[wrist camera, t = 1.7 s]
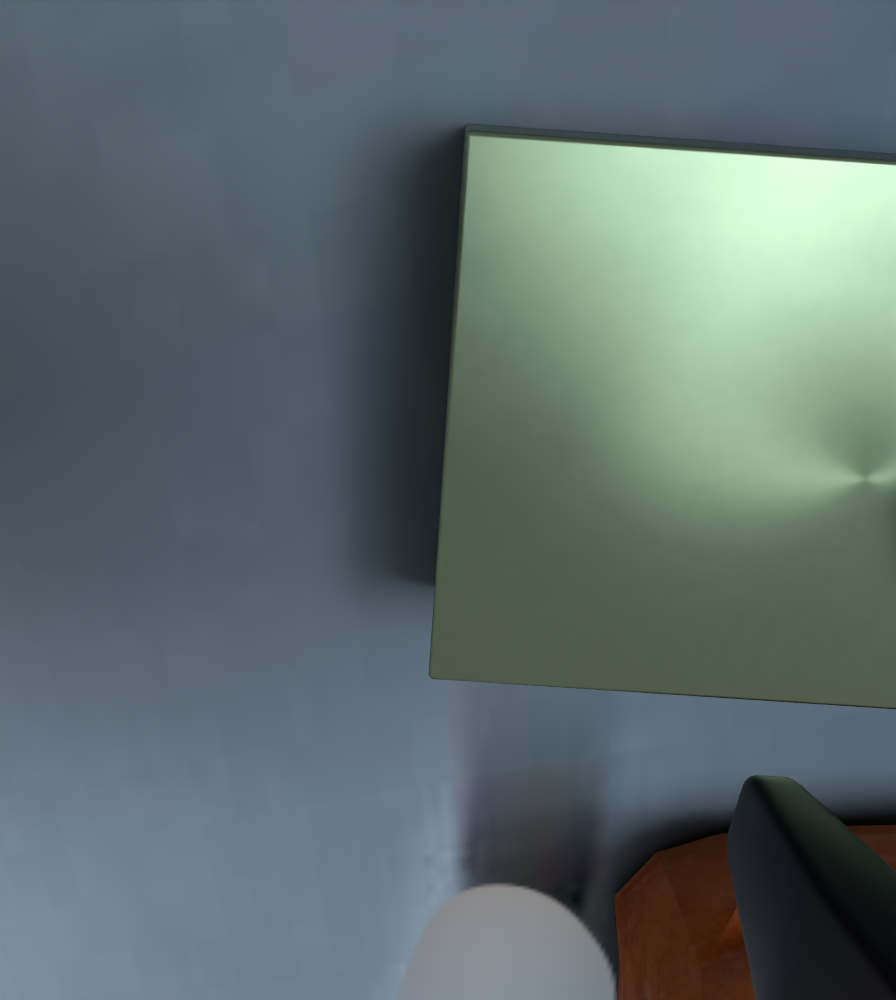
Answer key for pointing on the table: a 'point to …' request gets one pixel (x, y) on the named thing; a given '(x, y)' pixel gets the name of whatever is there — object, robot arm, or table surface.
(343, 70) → the table surface
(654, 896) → the bread
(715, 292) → the block
